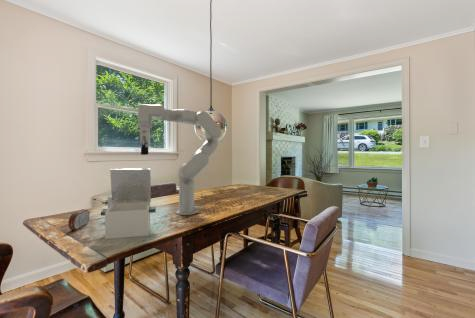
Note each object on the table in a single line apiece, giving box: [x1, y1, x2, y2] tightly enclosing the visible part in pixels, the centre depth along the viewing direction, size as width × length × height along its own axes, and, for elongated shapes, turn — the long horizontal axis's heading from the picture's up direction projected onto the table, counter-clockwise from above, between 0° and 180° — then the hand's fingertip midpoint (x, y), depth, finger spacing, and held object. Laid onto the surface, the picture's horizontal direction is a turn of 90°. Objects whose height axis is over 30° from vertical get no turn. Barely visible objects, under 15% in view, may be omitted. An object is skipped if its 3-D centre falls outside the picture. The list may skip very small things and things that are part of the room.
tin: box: [67, 209, 90, 231], centre depth 125 cm, size 15×3×8 cm, turn 5°
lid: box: [109, 168, 152, 204], centre depth 127 cm, size 19×19×3 cm
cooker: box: [100, 202, 157, 240], centre depth 120 cm, size 24×18×12 cm
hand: (144, 154), depth 146 cm, fingers open, 9 cm apart
